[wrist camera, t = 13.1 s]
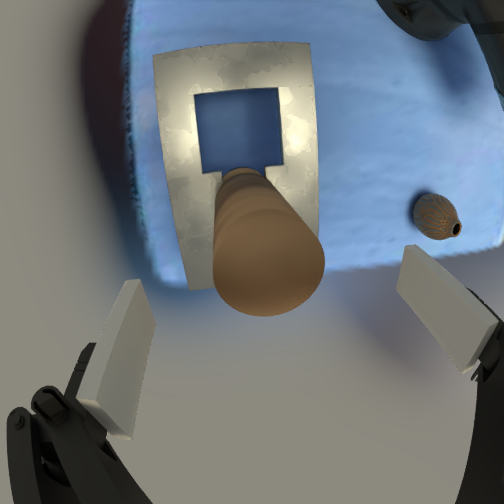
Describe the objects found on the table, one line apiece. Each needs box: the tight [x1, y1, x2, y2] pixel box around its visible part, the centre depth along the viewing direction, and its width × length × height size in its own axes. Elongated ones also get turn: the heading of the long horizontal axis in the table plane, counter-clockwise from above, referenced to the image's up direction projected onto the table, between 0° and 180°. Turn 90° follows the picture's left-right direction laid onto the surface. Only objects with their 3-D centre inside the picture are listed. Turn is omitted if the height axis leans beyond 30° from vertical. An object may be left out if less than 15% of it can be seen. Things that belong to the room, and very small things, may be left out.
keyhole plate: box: [153, 42, 319, 291], centre depth 28 cm, size 24×14×9 cm, turn 5°
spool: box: [213, 167, 325, 316], centre depth 22 cm, size 6×6×17 cm
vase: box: [413, 193, 462, 240], centre depth 34 cm, size 7×7×9 cm
